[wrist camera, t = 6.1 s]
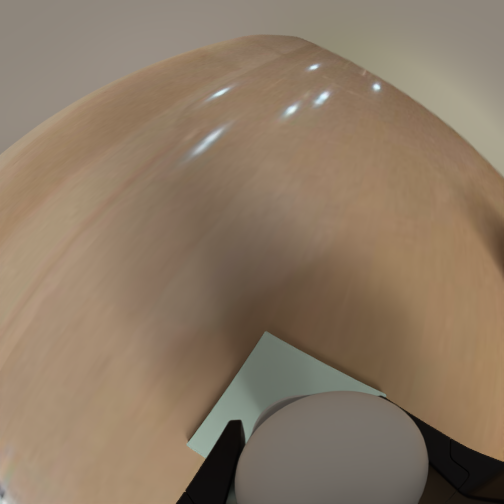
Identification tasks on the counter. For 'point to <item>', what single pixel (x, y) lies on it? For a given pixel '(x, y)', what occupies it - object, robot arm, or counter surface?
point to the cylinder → (332, 453)
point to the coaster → (270, 388)
